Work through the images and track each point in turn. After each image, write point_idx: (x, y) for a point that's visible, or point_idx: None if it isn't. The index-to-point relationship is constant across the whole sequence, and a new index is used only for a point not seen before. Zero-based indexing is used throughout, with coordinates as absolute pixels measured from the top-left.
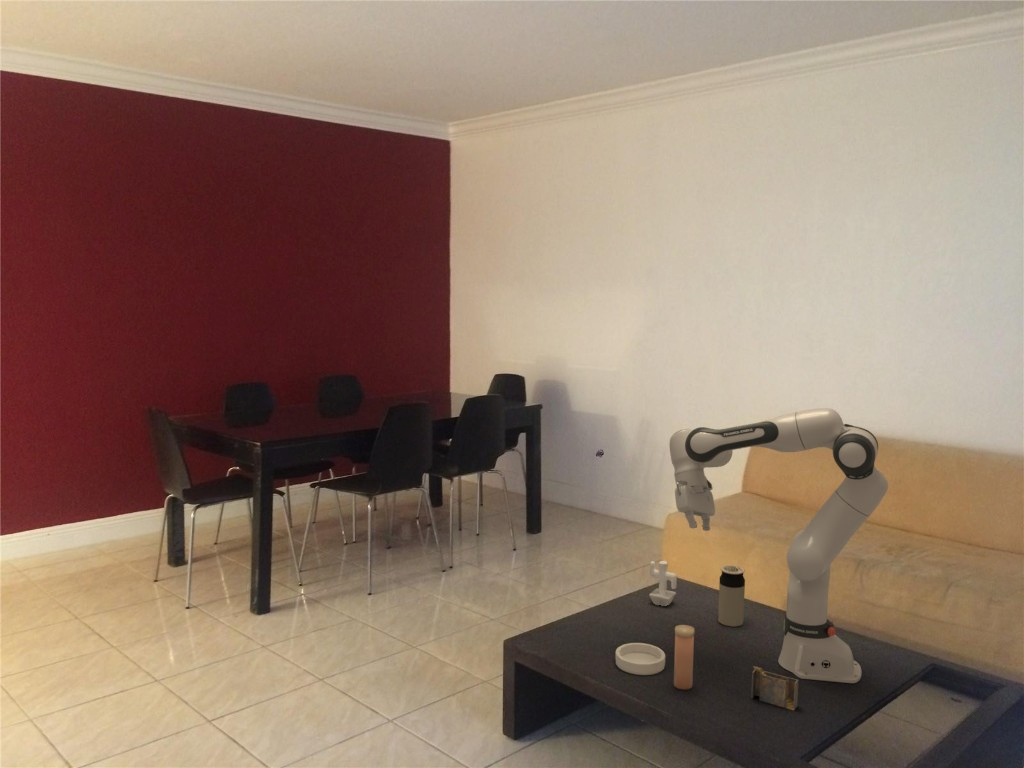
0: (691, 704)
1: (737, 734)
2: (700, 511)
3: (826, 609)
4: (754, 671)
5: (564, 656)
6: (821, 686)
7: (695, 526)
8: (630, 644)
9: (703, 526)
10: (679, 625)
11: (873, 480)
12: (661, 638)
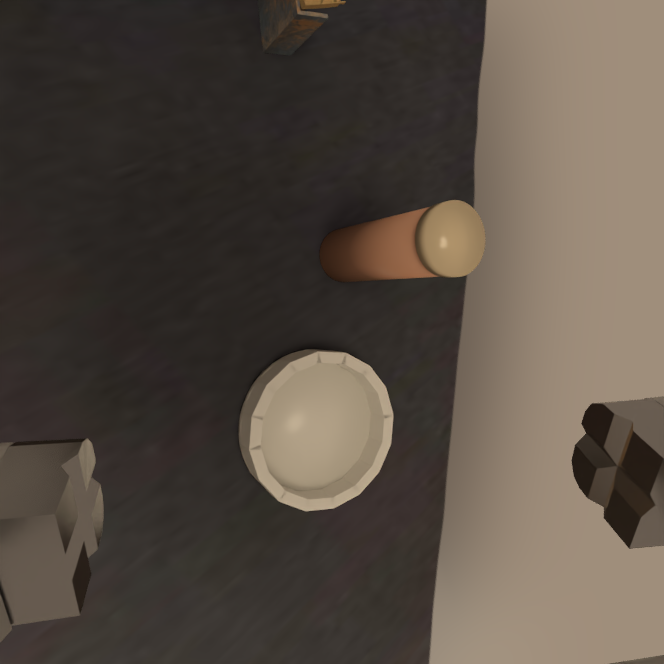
0: (413, 190)
1: (461, 43)
2: (660, 661)
3: None
4: (314, 13)
5: (400, 599)
6: None
7: (660, 397)
8: (292, 496)
9: (85, 560)
10: (444, 270)
11: None
12: None
